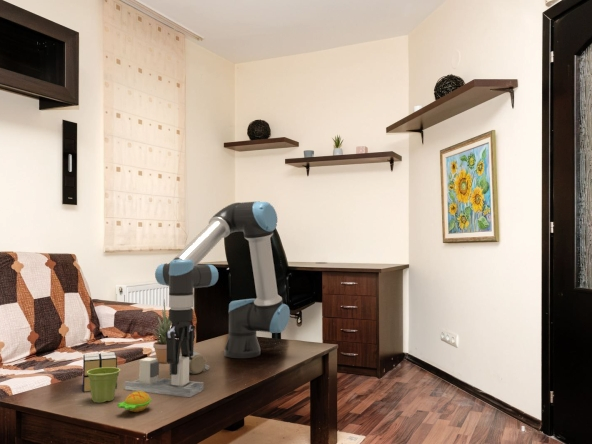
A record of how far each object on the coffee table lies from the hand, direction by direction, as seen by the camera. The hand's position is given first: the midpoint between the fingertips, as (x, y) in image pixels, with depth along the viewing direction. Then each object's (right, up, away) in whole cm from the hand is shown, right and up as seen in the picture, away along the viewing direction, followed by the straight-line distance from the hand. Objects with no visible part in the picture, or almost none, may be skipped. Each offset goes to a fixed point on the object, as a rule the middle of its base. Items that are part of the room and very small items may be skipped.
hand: (180, 382), depth 159 cm
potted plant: (-16, -5, +42) cm, 45 cm away
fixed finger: (-11, -2, +4) cm, 12 cm away
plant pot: (-21, -3, -8) cm, 23 cm away
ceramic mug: (0, -4, +25) cm, 26 cm away
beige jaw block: (0, 0, 0) cm, 0 cm away
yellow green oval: (-8, -2, -20) cm, 21 cm away
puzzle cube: (-28, -3, +6) cm, 28 cm away
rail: (-6, -3, +2) cm, 7 cm away
